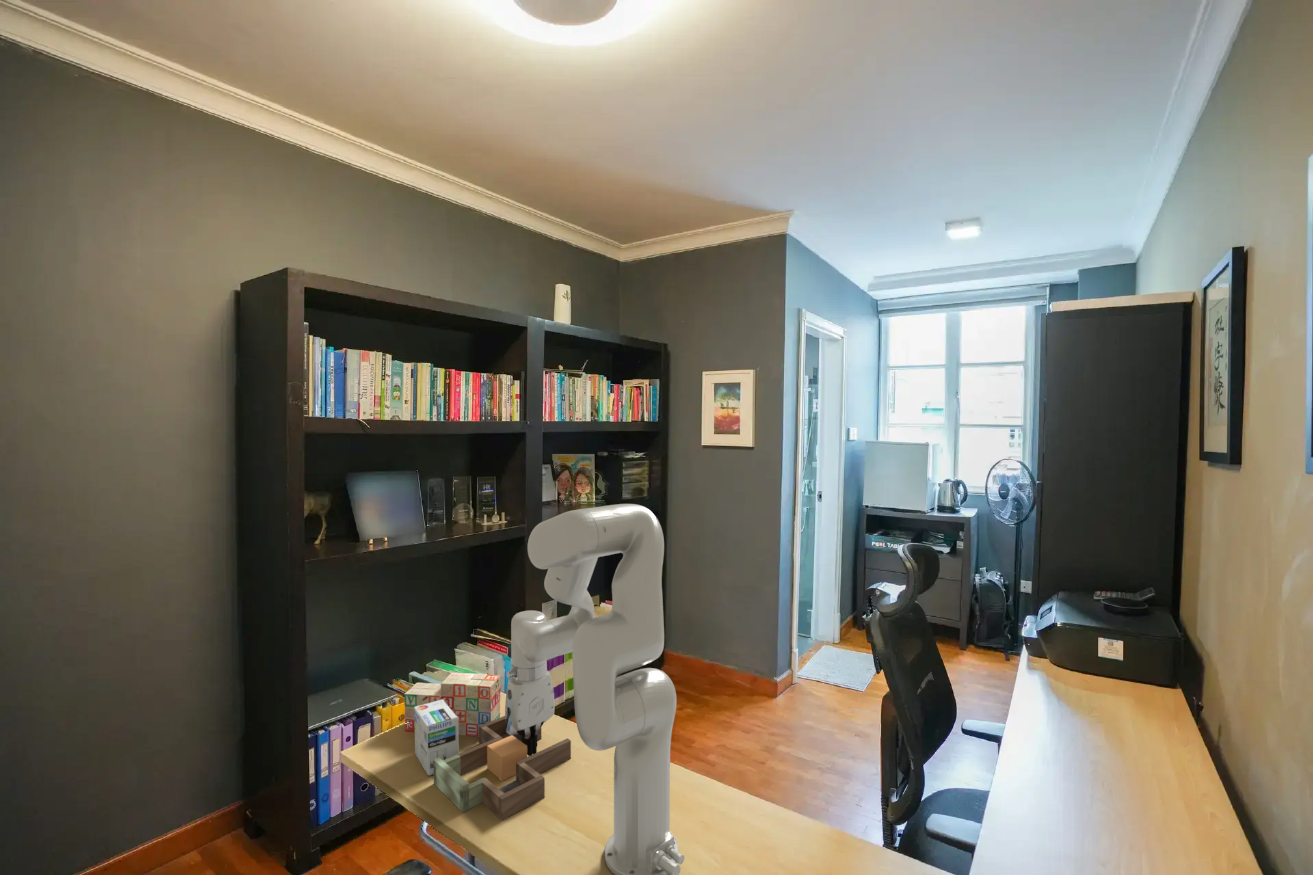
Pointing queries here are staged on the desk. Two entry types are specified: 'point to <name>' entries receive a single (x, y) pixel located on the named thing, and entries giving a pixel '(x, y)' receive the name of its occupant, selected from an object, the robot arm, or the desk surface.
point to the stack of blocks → (459, 700)
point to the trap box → (483, 791)
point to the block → (505, 756)
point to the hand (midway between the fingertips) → (529, 752)
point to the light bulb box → (435, 733)
